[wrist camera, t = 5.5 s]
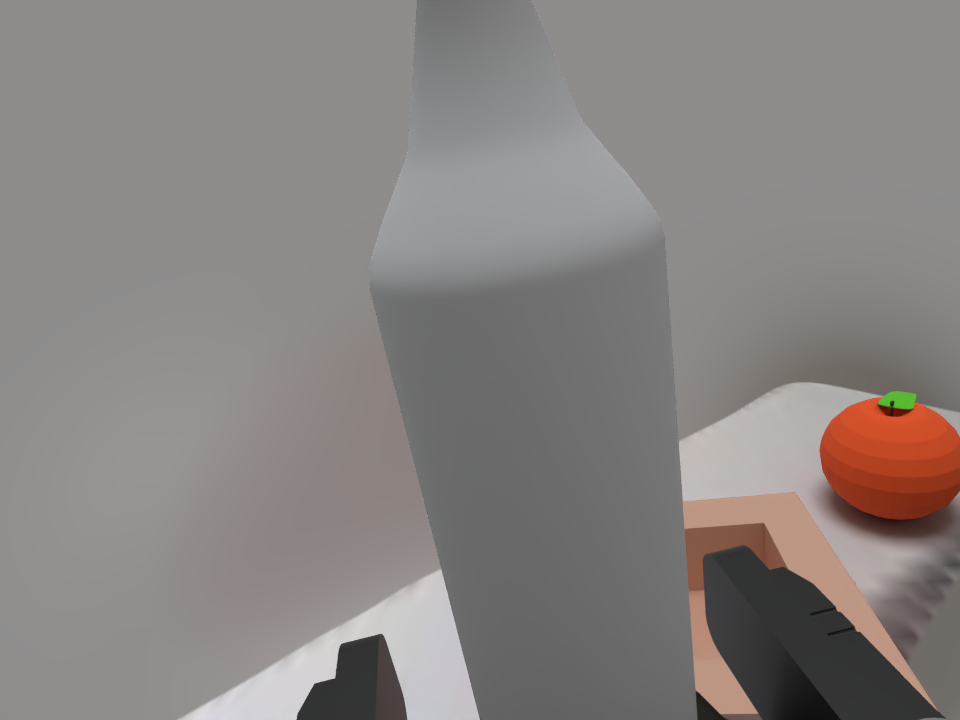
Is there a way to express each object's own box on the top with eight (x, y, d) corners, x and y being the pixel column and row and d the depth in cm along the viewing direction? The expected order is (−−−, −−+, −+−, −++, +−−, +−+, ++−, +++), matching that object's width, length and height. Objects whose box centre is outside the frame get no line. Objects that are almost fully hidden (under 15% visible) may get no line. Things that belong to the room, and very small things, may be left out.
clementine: (845, 456, 39) (849, 361, 37) (977, 486, 34) (991, 379, 32) (801, 518, 35) (801, 415, 32) (945, 564, 30) (959, 445, 27)
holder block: (583, 806, 22) (565, 717, 21) (574, 582, 33) (562, 511, 32) (925, 810, 20) (937, 710, 18) (795, 568, 31) (795, 492, 30)
